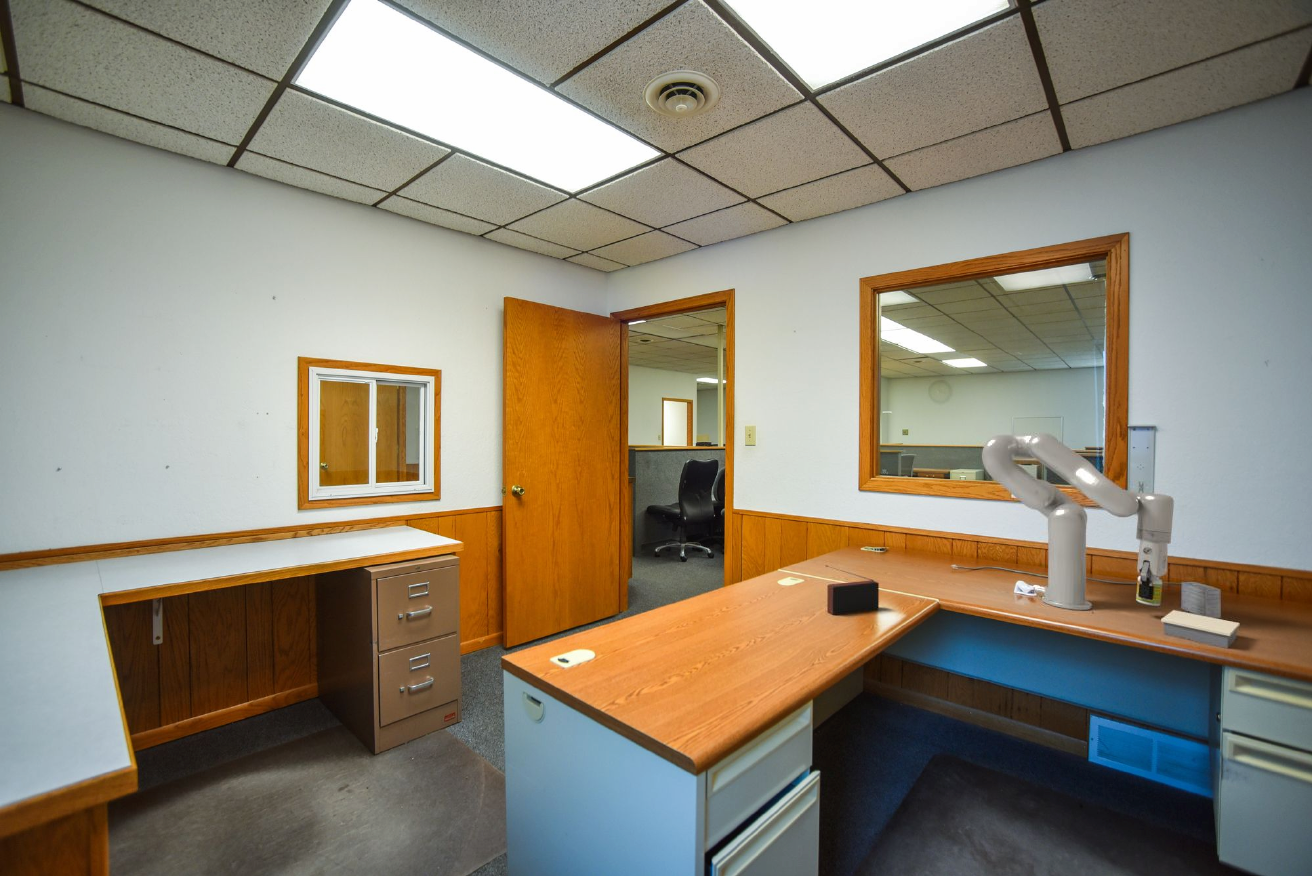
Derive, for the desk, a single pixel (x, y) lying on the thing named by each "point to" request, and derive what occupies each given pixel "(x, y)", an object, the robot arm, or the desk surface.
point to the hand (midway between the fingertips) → (1148, 596)
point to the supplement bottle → (1156, 596)
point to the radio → (852, 596)
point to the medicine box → (1201, 599)
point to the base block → (1200, 628)
